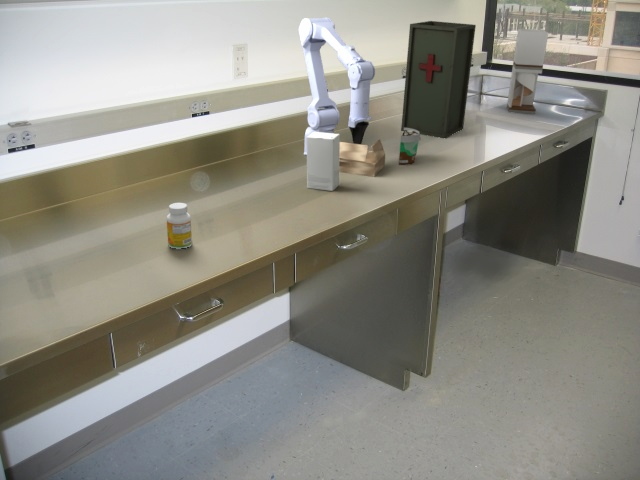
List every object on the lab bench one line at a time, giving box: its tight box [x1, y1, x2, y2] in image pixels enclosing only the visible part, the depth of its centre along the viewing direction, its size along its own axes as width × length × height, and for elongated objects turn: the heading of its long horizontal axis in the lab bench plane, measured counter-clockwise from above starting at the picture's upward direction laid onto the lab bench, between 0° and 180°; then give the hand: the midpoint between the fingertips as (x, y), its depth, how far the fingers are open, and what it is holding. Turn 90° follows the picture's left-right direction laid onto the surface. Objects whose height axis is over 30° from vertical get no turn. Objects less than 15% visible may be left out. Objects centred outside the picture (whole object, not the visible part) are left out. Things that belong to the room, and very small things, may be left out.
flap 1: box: [339, 141, 369, 162], centre depth 202 cm, size 10×1×5 cm, turn 69°
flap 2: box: [370, 139, 386, 162], centre depth 204 cm, size 1×9×5 cm, turn 158°
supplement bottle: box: [166, 202, 193, 250], centre depth 148 cm, size 5×5×10 cm
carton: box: [339, 150, 386, 178], centre depth 210 cm, size 16×15×4 cm
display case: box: [506, 28, 550, 115], centre depth 291 cm, size 11×11×35 cm
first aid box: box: [400, 20, 477, 139], centre depth 251 cm, size 18×18×40 cm
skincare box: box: [306, 132, 341, 192], centre depth 188 cm, size 8×7×16 cm
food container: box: [398, 128, 422, 166], centre depth 216 cm, size 12×6×10 cm, turn 168°
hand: (357, 145), depth 207 cm, fingers closed
